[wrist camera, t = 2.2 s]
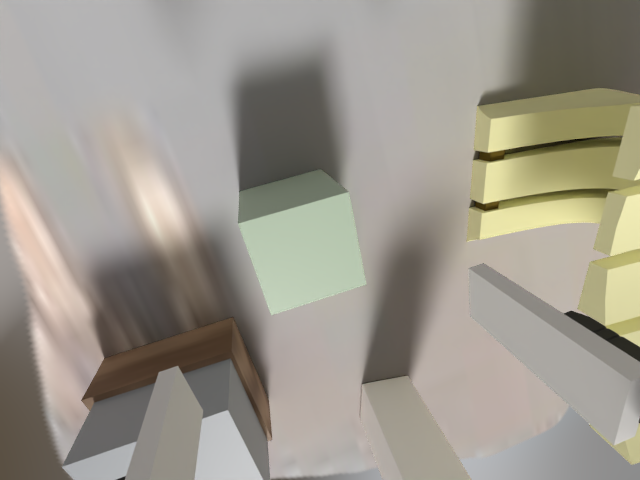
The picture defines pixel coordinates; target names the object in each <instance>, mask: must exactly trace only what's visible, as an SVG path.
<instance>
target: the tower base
mask: <svg viewBox="0 0 640 480" xmlns="http://www.w3.org/2000/svg"><path fill="white" fill-rule="evenodd" d="M230 358H231V360H232V363H233V365H234V367H235V369H236V371H237V374H238V376H239V378H240V380H241V382H242V385H243V387H244V389H245V391H246V393H247V396H248V398H249V400H250V402H251V405H252V407H253V409H254V411H255V413H256V416H257V418H258V420H259V422H260V424H261V427H262V429H263V431H264V433H265V435H266V438H267V441H270V440H272V431H271V420H270V409H269V400H268V397H267V395H266V393H265V390H264V388H263V386H262V383H261V381H260V379H259V376H258V374H257V372H256V369H255V367H254V365H253V362H252V360H251V358H250V355H249V353H248V351H247V348H246V346H245V344H244V341H243V339H242V337H241V335H240V332H239V330H238V328H237V325H236V323H235V321H234V318H233V317H232V318H229V319H225V320H222V321H219V322H216V323H213V324H210V325H207V326H204V327H200V328H197V329H194V330H191V331H188V332H185V333H182V334H179V335H175V336H172V337H169V338H166V339H163V340H160V341H157V342H154V343H151V344H147V345H144V346H141V347H138V348H135V349H132V350H129V351H126V352H122V353H119V354H116V355H113V356H110V357H107V358H104V360H103V362H102V364H101V366H100V367H99V369H98V371H97V373H96V375H95V377H94V378H93V380H92V382H91V384H90V386H89V387H88V389H87V391H86V393H85V395H84V397H83V398H82V400H81V401H82V402H83V403H84V404H85V406H86V407H87V408H88V409H89V411H90V410H91V408H92V406H93V404H94V403H95V402H98V401H101V400H104V399H107V398H110V397H113V396H116V395H119V394H122V393H125V392H128V391H131V390H135V389H138V388H141V387H144V386H147V385H150V384H153V383H155V382H156V379H157V376H158V373H159V372H161V371H164V370H167V369H170V368H173V367H176V366H178V367H179V369H180V370H181V372H182V374H184V373H187V372H190V371H193V370H196V369H199V368H202V367H205V366H208V365H211V364H214V363H218V362H221V361H224V360H227V359H230Z"/></svg>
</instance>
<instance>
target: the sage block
mask: <svg viewBox="0 0 640 480" xmlns="http://www.w3.org/2000/svg"><path fill="white" fill-rule="evenodd" d="M238 225H239V228H240V230H241V233H242V236H243V239H244V241H245V244H246V247H247V250H248V253H249V255H250V258H251V261H252V264H253V266H254V269H255V272H256V275H257V277H258V280H259V283H260V286H261V288H262V291H263V294H264V297H265V300H266V302H267V305H268V308H269V311H270V313H271V315H274V314H277V313H280V312H283V311H286V310H289V309H293V308H296V307H299V306H302V305H305V304H308V303H311V302H314V301H317V300H320V299H323V298H327V297H330V296H333V295H336V294H339V293H342V292H345V291H348V290H351V289H354V288H358V287H361V286H364V285H366V280H365V274H364V269H363V264H362V258H361V253H360V248H359V242H358V237H357V232H356V227H355V221H354V216H353V211H352V205H351V200H350V195H349V191H347V190H346V189H345V188H344V187H342V186H341V185H340V184H339V183H337V182H336V181H335V180H334V179H332V178H331V177H330V176H329V175H328V174H326V173H325V172H324V171H323V170H321V169H319V170H315V171H311V172H308V173H304V174H301V175H297V176H293V177H290V178H286V179H282V180H279V181H275V182H272V183H268V184H264V185H261V186H257V187H253V188H250V189H246V190H242V191H239V214H238Z"/></svg>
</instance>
